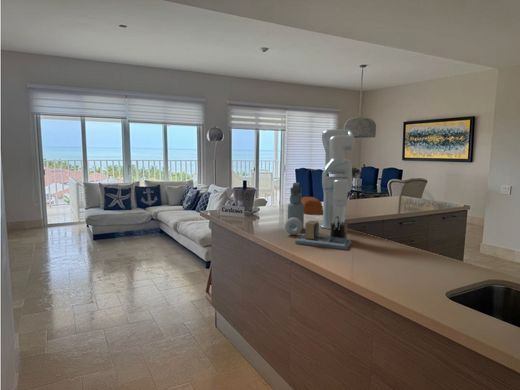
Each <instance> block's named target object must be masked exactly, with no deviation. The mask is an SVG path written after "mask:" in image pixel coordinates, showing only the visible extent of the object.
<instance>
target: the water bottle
mask: <svg viewBox="0 0 520 390" xmlns="http://www.w3.org/2000/svg"><path fill="white" fill-rule="evenodd" d="M289 193H290V196H289V203H288V204H287V220H288V219H290V218H298V219H299V220H300V221H301V222H302V226H303V227H302V230H304V227H305V226H304V224H305V223H304V222H305V217H304V216H305V214H304V205H303V204H302V203H301V199H302V198H303V196H302V195H303V187H300V182H293V183H292V187H290V192H289ZM296 227H297V225H296V224H292V225H291V228H292V229H295V228H296Z"/></svg>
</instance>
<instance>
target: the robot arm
mask: <svg viewBox="0 0 520 390" xmlns="http://www.w3.org/2000/svg"><path fill="white" fill-rule="evenodd" d="M321 141H322V145H323V148H324V153H325V158H324V159H325V161H324V162H325V163H324V164H325V165H324V168H323V170H322V174H321V185H322V186H321V187H322V191H323V204H322V206H323V211H322V216H323V217H322V223H321V224H319V228H323V229H329V230H331V222H332V224H334V223H335V227H334V237H340V231H341V230H340V225H341V224H343V223H345V221H346V207H348V196H349V195H348V193H349V192H351V190H352V187H353V166H352V161H351V160H350V159H348V158H346V155H345V154H346V153H345V151H352V150H354V149H355V145H356V140H355V135H354V134H353V132H352V130H350V129H335V128H334V129H332V128H331V129H324V131H322V134H321ZM328 175H331V176H328ZM332 175H342V176H332ZM338 223H340V224H338ZM338 225H339V226H338Z"/></svg>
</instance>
